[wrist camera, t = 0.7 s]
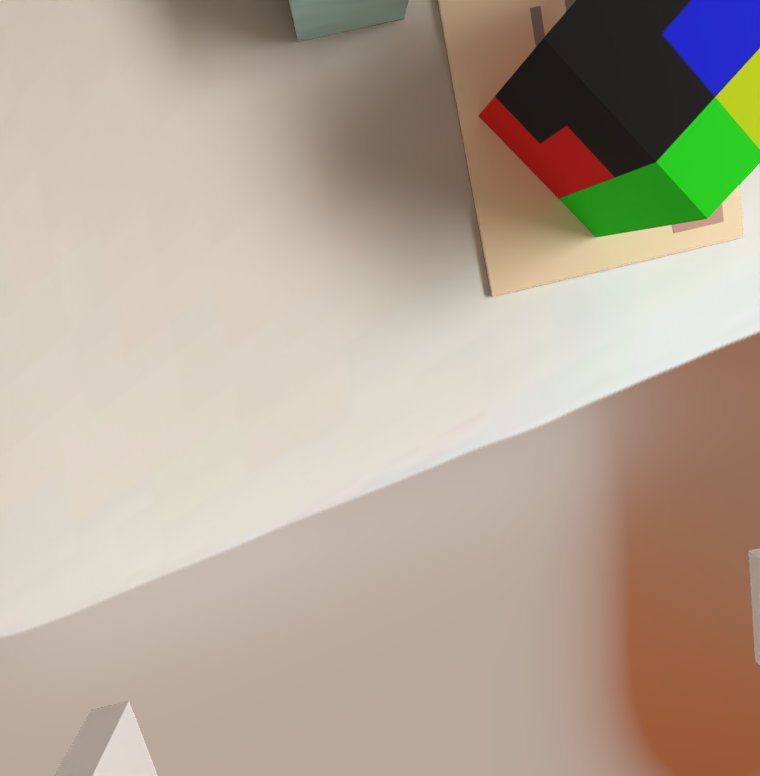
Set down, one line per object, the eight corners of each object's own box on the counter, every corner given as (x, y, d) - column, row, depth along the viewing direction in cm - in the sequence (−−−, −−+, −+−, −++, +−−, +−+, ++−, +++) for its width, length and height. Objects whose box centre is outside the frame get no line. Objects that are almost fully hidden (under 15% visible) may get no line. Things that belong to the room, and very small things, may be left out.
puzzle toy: (601, -29, 29) (732, -182, 20) (716, 105, 31) (887, 26, 21) (478, 115, 30) (543, 38, 21) (596, 237, 32) (707, 218, 22)
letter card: (431, -31, 29) (432, -34, 29) (713, -93, 29) (717, -97, 29) (491, 296, 33) (492, 296, 33) (740, 237, 33) (744, 236, 33)
